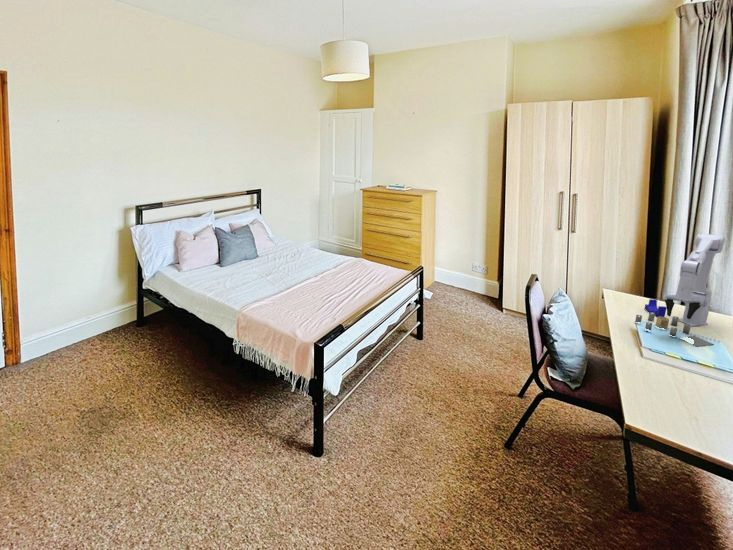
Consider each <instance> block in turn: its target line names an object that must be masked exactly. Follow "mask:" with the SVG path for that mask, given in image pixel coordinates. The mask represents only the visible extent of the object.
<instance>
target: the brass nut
mask: <svg viewBox="0 0 733 550" xmlns="http://www.w3.org/2000/svg"><path fill="white" fill-rule="evenodd" d="M669 322H670V318H668V317H666V316H665V317H659V316H658V317H656V321H655V326H657V327H659V328H664V329H667V330H668V327H669ZM655 326H654V327H655Z"/></svg>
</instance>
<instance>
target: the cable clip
mask: <svg viewBox="0 0 733 550" xmlns="http://www.w3.org/2000/svg"><path fill="white" fill-rule="evenodd" d="M644 309H646V310H647V311H648V312H654V313H655V317H656V318H657V317H658V316H659V317H666V314H667V307H666V306H664V305H663V306H660V305H659V306H658V300H657V299H653V298H652V299H649V300H648V304H646V303H645V304H644ZM646 310H645V311H646ZM647 311H646V312H647ZM648 312H647V313H648Z"/></svg>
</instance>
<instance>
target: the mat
mask: <svg viewBox="0 0 733 550" xmlns="http://www.w3.org/2000/svg"><path fill="white" fill-rule="evenodd" d="M686 336H687V335H686ZM687 337H688V338H691V339H693V340H694V344H693V345H692V346H694V345H695V346H694V347H696V346H701V347H707V346H706V345H709V346H714V343H713V342H710V341H707V339H706V340H705V339H702V338H701V337H699V336H697V335H689V336H687Z"/></svg>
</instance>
